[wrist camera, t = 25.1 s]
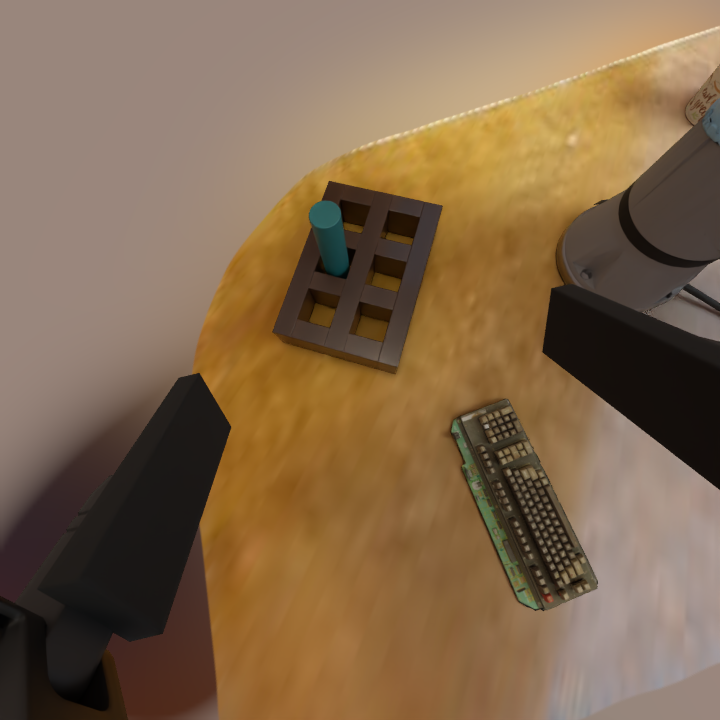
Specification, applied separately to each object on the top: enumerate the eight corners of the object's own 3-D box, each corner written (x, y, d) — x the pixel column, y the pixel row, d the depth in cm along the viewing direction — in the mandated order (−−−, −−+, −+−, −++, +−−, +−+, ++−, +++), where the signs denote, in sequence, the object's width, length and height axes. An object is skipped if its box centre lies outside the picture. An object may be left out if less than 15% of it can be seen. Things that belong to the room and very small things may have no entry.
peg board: (436, 227, 44) (442, 205, 39) (395, 374, 39) (397, 367, 35) (333, 204, 45) (328, 180, 41) (283, 342, 41) (272, 331, 37)
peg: (354, 270, 43) (344, 204, 30) (347, 290, 42) (335, 231, 30) (332, 264, 43) (314, 197, 31) (325, 285, 43) (304, 224, 30)
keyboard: (599, 584, 33) (613, 594, 31) (523, 615, 33) (532, 627, 31) (508, 396, 38) (516, 395, 36) (441, 422, 38) (445, 421, 36)
